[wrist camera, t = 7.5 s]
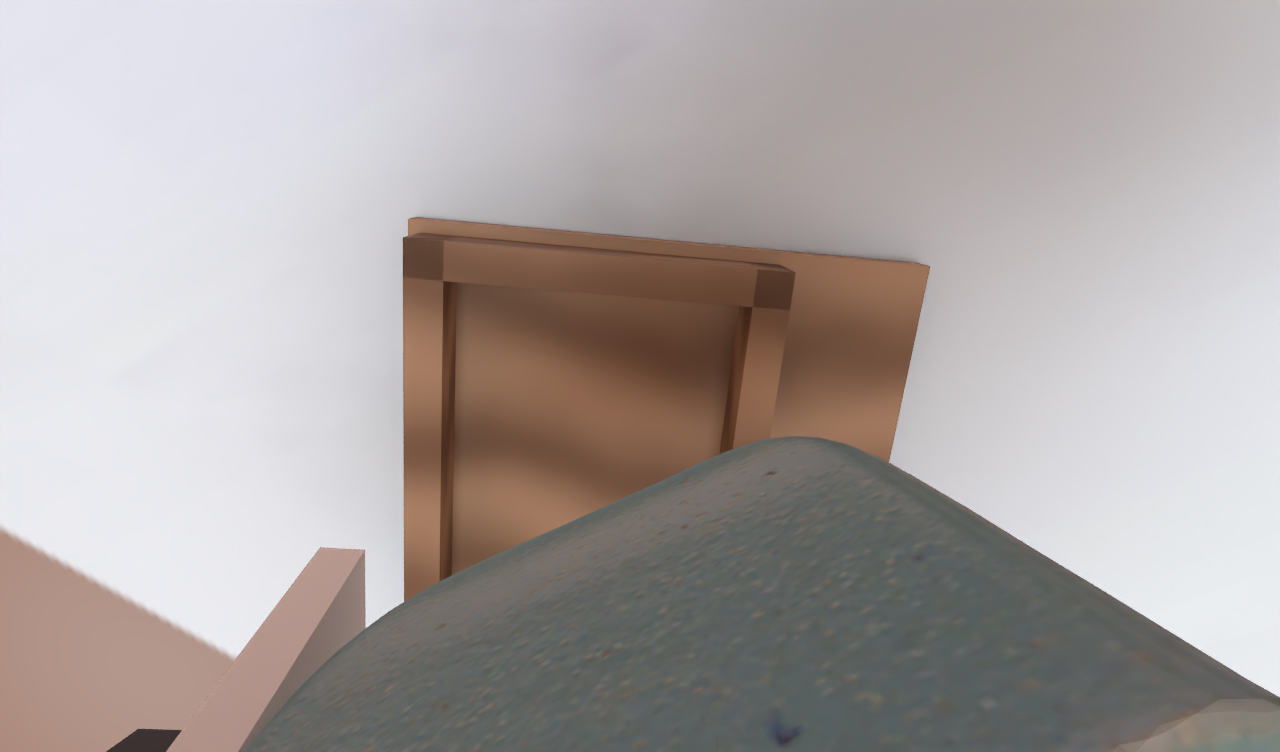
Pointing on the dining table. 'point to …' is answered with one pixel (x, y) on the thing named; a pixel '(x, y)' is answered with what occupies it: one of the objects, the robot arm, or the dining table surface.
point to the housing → (622, 371)
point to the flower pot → (772, 635)
